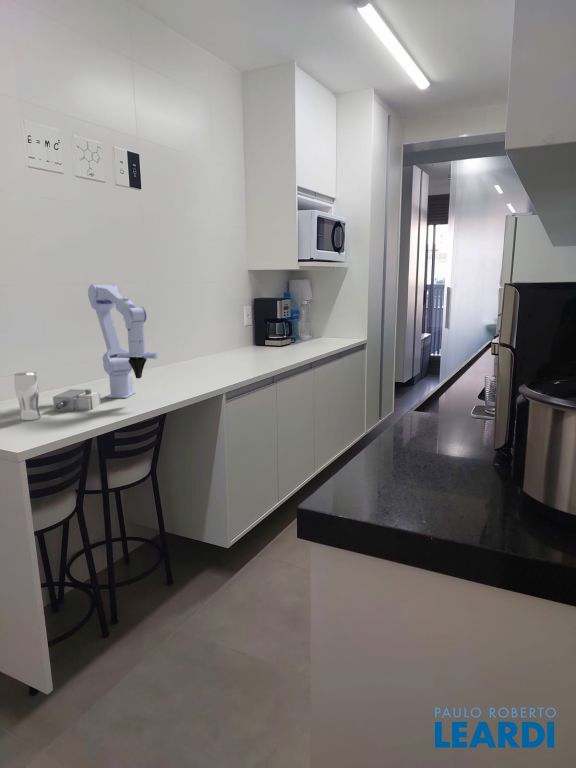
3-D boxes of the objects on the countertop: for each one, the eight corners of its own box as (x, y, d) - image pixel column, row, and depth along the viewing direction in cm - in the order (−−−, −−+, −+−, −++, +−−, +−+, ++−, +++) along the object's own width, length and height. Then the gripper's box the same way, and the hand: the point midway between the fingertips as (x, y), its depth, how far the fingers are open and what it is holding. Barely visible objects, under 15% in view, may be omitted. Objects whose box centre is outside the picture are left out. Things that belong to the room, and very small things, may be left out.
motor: (71, 402, 188) (70, 389, 187) (102, 403, 187) (101, 390, 186) (49, 412, 173) (47, 398, 172) (82, 413, 172) (81, 399, 171)
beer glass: (28, 422, 162) (23, 376, 159) (13, 419, 165) (8, 374, 162) (46, 416, 168) (42, 372, 165) (32, 414, 171) (27, 371, 168)
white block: (86, 405, 184) (84, 388, 182) (99, 405, 183) (98, 388, 182) (79, 409, 179) (77, 391, 177) (92, 409, 178) (91, 391, 177)
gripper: (112, 342, 179) (115, 379, 182) (151, 342, 178) (154, 380, 181) (120, 339, 186) (123, 375, 189) (158, 340, 185) (160, 376, 188)
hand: (138, 377), depth 185 cm, fingers closed
